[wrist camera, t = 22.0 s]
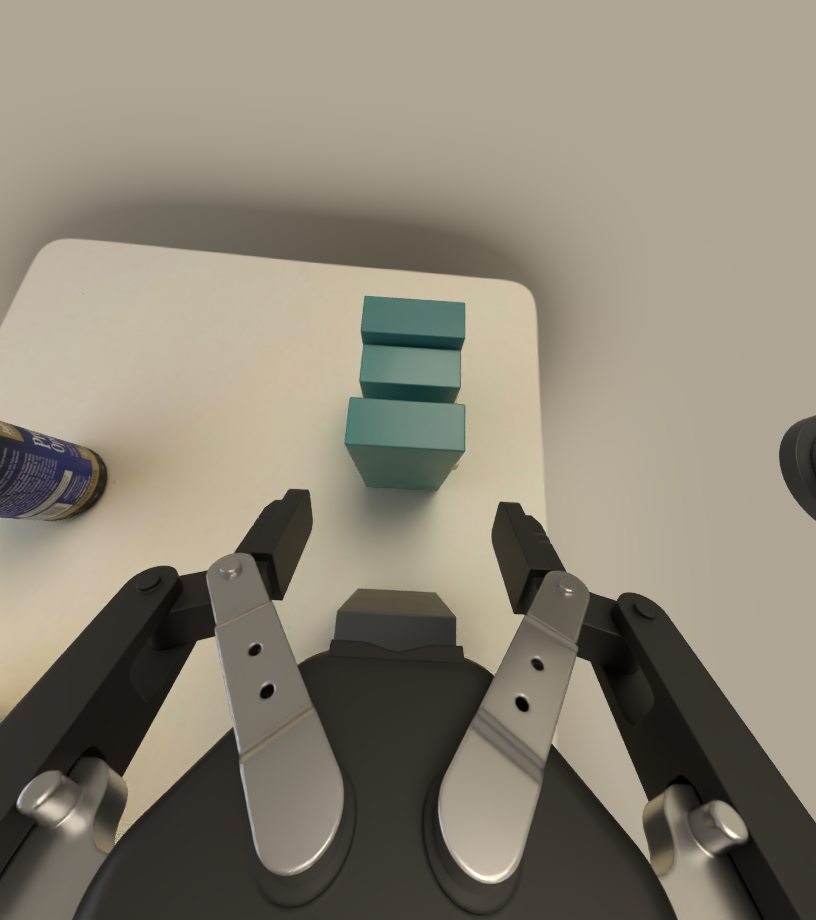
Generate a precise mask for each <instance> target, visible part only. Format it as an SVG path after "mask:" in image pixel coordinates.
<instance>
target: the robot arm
mask: <svg viewBox="0 0 816 920" xmlns="http://www.w3.org/2000/svg"><path fill="white" fill-rule="evenodd" d="M811 461H812V466H813V470H814V473H815V475H816V438H815V439H814V441H813V444H812V449H811ZM312 524H313V517H312V509H311V500H310V493H309V490H304V489H289V490H288V491H287V493H286V494H285V496H284V498H283V499H282V500H275V501H273V502H272V503H270V504H269V505H268V506H266V507H265V508H264V510H263V511H262V513H261V514H260V515H259V518H257V520H256V521H255V523H254V526H252V527H251V529H250V530H249V532H248V533H247V535H246V536H245V538H244V539H243V541H242V542H241V543H240V545H239V546H238V548H237V549H236V551H235V552H234V553H233V554H229V555H227V556H224V557H222V558H220V559H219V560H217V561H216V562H215V563H213V564H212V566H211V567H210V568H209V569H208V570H207V571H203V572H198V573H193V574H187V575H182V576H179V575H178V573H177V571H176V569H175V568H173V567H170V566H157V567H153V568H150V569H147V570H145V571H143V572H141V573H139V574H137V575H135V576H134V577H133V578H131V579H130V580H129V581H128V582H127V583H126V584H125V585H124V586H123V587H122V588H121V589H120V590H119V592H118V593H117V594H116V595H115V596H114V597H113V598H112V599H111V600H110V602H109V603H108V604H107V605H106V606H105V607H104V608H103V609H102V611H101V612H100V613H99V614H98V615H97V616H96V617H95V618H94V619H93V621H92V622H91V623H90V624H89V625H88V626H87V627H86V628H85V629H84V631H83V632H82V633H81V634H80V635H79V636H78V637H77V638H76V640H75V641H74V642H73V643H72V644H71V645H70V646H69V647H68V648H67V650H66V651H65V652H64V653H63V654H62V655H61V656H60V657H59V658H58V660H57V661H56V662H55V663H54V664H53V665H52V666H51V667H50V668H49V670H48V671H47V672H46V673H45V674H44V675H43V676H42V677H41V679H40V680H39V681H38V682H37V683H36V684H35V685H34V686H33V687H32V689H31V690H30V691H29V692H28V693H27V694H26V695H25V696H24V697H23V699H22V700H21V701H20V702H19V703H18V704H17V705H16V706H15V708H14V709H13V710H12V711H11V712H10V713H9V714H8V715H7V716H6V718H5V719H4V720H3V721H2V722H1V723H0V920H816V823H815V821H814V820H813V818H812V817H811V816H810V814H809V813H808V812H807V810H806V809H805V807H804V806H803V804H802V803H801V802H800V800H799V799H798V797H797V796H796V795H795V793H794V792H793V791H792V789H791V788H790V786H789V785H788V784H787V782H786V781H785V780H784V778H783V777H782V776H781V774H780V772H779V771H778V769H777V768H776V767H775V765H774V764H773V762H772V761H771V760H770V758H769V757H768V755H767V754H766V753H765V751H764V750H763V749H762V747H761V746H760V744H759V743H758V741H757V740H756V739H755V737H754V736H753V734H752V733H751V732H750V730H749V729H748V727H747V726H746V725H745V723H744V722H743V720H742V719H741V718H740V716H739V715H738V713H737V712H736V711H735V709H734V708H733V706H732V705H731V704H730V702H729V701H728V699H727V698H726V697H725V695H724V694H723V692H722V691H721V690H720V688H719V687H718V685H717V684H716V682H715V681H714V680H713V678H712V677H711V675H710V674H709V673H708V671H707V670H706V668H705V667H704V666H703V664H702V663H701V662H700V660H699V659H698V657H697V656H696V654H695V653H694V652H693V650H692V649H691V647H690V646H689V645H688V643H687V642H686V640H685V639H684V638H683V636H682V635H681V633H680V632H679V631H678V629H677V628H676V626H675V625H674V624H673V622H672V621H671V619H670V618H669V617H668V615H667V614H666V613H665V611H664V610H663V609H662V608H661V607H660V606H658V605H657V604H656V603H655V602H653V601H652V600H650V599H648V598H646V597H644V596H642V595H640V594H636V593H623V594H621V595H620V596H619V598H618V599H617V601H615V600H612V599H609V598H606V597H603V596H599V595H596V594H593V593H591V592H589V590H588V589H587V587H586V586H585V584H584V583H583V582H582V581H580V580H579V579H578V578H577V577H575V576H574V575H572V574H570V573H567V572H566V570H565V568H564V567H563V565H562V563H561V561H560V559H559V557H558V555H557V553H556V551H555V550H554V548H553V546H552V544H550V540H549V538H548V537H547V536H546V533H545V531H544V529H543V527H542V525H541V524H540V523H539V522H538V521H537V520H536V519H535V518H533V517H532V516H529V515H525V513H524V511H523V509H522V507H521V505H520V504H519V503H513V502H500V503H499V505H498V509H497V513H496V517H495V520H494V524H493V528H492V544H493V548H494V551H495V554H496V557H497V561H498V564H499V567H500V570H501V574H502V577H503V580H504V583H505V587H506V590H507V593H508V596H509V600H510V603H511V606H512V609H513V613H514V614H524V615H525V616H524V618H523V620H522V622H521V624H520V626H519V628H518V630H517V632H516V634H515V636H514V638H513V640H512V642H511V644H510V646H509V648H508V650H507V652H506V654H505V656H504V658H503V661H502V663H501V665H500V667H499V669H498V671H497V673H496V675H495V676H494V675H493V674H492V673H490V672H489V671H488V670H487V669H485V668H484V667H482V666H481V665H479V664H478V663H476V662H474V661H472V660H469V659H467V658H464V653H463V646H448V645H427V646H422V647H418V648H413V649H409V650H404V651H399V652H396V651H392V650H389V649H386V648H383V647H380V646H377V645H374V644H371V643H368V642H365V641H352V640H333V639H332V641H331V645H330V649H329V651H325V652H322V653H319V654H316V655H314V656H312V657H310V658H308V659H306V660H305V661H303V662H301V663H300V664H298V665H297V663H296V661H295V658H294V656H293V653H292V650H291V648H290V645H289V643H288V640H287V638H286V635H285V633H284V630H283V627H282V625H281V622H280V620H279V617H278V615H277V612H276V609H275V607H274V604H273V602H272V600H283V598H284V595H285V593H286V591H287V588H288V586H289V583H290V581H291V579H292V576H293V574H294V572H295V569H296V567H297V564H298V562H299V560H300V557H301V555H302V553H303V550H304V548H305V545H306V543H307V541H308V538H309V536H310V533H311V530H312ZM214 636H216V641H217V646H218V651H219V656H220V661H221V667H222V672H223V677H224V682H225V687H226V692H227V697H228V702H229V707H230V712H231V717H232V722H233V727H232V728H231V729H230V730H229V731H228V732H227V733H226V734H225V735H224V736H223V737H222V738H221V739H220V740H219V741H218V742H217V743H216V744H215V745H214V746H213V747H212V748H211V749H210V750H209V751H208V752H207V753H206V754H205V755H204V756H203V757H201V758H200V759H199V760H198V761H197V762H196V763H195V764H194V765H193V766H192V767H191V768H190V769H189V770H188V771H187V772H186V773H185V774H184V775H183V776H182V777H181V778H180V779H179V780H178V781H177V782H176V783H175V784H174V785H173V786H172V787H171V788H170V789H169V790H168V791H167V792H166V793H164V794H163V795H162V796H161V797H160V798H159V799H158V800H157V801H156V802H155V803H154V804H153V805H152V806H151V807H150V808H149V809H148V810H147V811H146V812H145V813H144V814H143V815H142V816H141V817H140V818H139V819H138V820H137V821H136V822H135V823H134V824H133V825H132V826H131V827H130V828H129V829H128V830H127V831H126V833H125V834H124V835H123V836H122V837H121V838H120V840H119V841H118V842H117V843H116V845H115V836H116V831H117V827H118V824H119V821H120V819H121V816H122V814H123V811H124V809H125V806H126V802H127V797H128V788H127V784H126V782H125V781H124V779H123V778H122V777H123V775H124V773H125V771H126V769H127V767H128V766H129V764H130V762H131V760H132V758H133V757H134V755H135V753H136V751H137V749H138V747H139V746H140V744H141V742H142V740H143V738H144V737H145V735H146V733H147V731H148V729H149V727H150V726H151V724H152V722H153V720H154V718H155V717H156V715H157V713H158V711H159V709H160V707H161V706H162V704H163V702H164V700H165V698H166V697H167V695H168V693H169V691H170V689H171V687H172V686H173V684H174V682H175V680H176V678H177V677H178V675H179V673H180V671H181V669H182V668H183V666H184V664H185V662H186V660H187V658H188V657H189V655H190V653H191V651H192V649H193V648H194V646H195V644H196V642H197V641H198V640H202V639H206V638H210V637H214ZM576 656H577V657H580V658H582V659H585V660H588V661H590V662H591V664H592V667H593V669H594V671H595V674H596V676H597V679H598V681H599V683H600V686H601V688H602V690H603V693H604V695H605V698H606V700H607V702H608V705H609V707H610V710H611V712H612V715H613V717H614V719H615V722H616V724H617V726H618V729H619V731H620V734H621V736H622V738H623V741H624V743H625V746H626V748H627V750H628V753H629V755H630V758H631V760H632V762H633V765H634V767H635V770H636V772H637V774H638V777H639V779H640V782H641V784H642V786H643V789H644V791H645V793H646V796H647V798H648V801H649V802H648V803H647V804H646V806H645V808H644V810H643V828H644V832H645V836H646V839H647V843H648V849H649V852H650V863H649V862H648V860H647V859H646V857H645V856H644V855H643V853H642V852H641V851H640V849H639V848H638V846H637V845H636V844H635V843H634V841H633V840H632V839H631V838H630V836H629V835H628V834H627V833H626V832H625V831H624V829H623V828H622V827H621V826H620V825H619V823H618V822H617V821H616V820H615V819H614V817H613V816H612V815H611V814H610V813H609V811H608V810H607V809H606V808H605V807H604V805H603V804H602V803H601V802H600V801H599V799H598V798H597V797H596V796H595V795H594V793H593V792H592V791H591V790H590V789H589V788H588V786H587V785H586V784H585V783H584V781H583V780H582V779H581V778H580V777H579V776H578V774H577V773H576V772H575V771H574V770H573V768H572V767H571V766H570V765H569V764H568V763H567V761H566V760H565V759H564V758H563V756H562V755H561V754H560V753H559V752H558V750H557V749H556V748H555V747H554V746H553V744H552V739H553V736H554V732H555V729H556V725H557V722H558V718H559V714H560V711H561V708H562V704H563V701H564V697H565V694H566V691H567V687H568V684H569V680H570V676H571V673H572V670H573V666H574V662H575V659H576Z"/></svg>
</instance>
